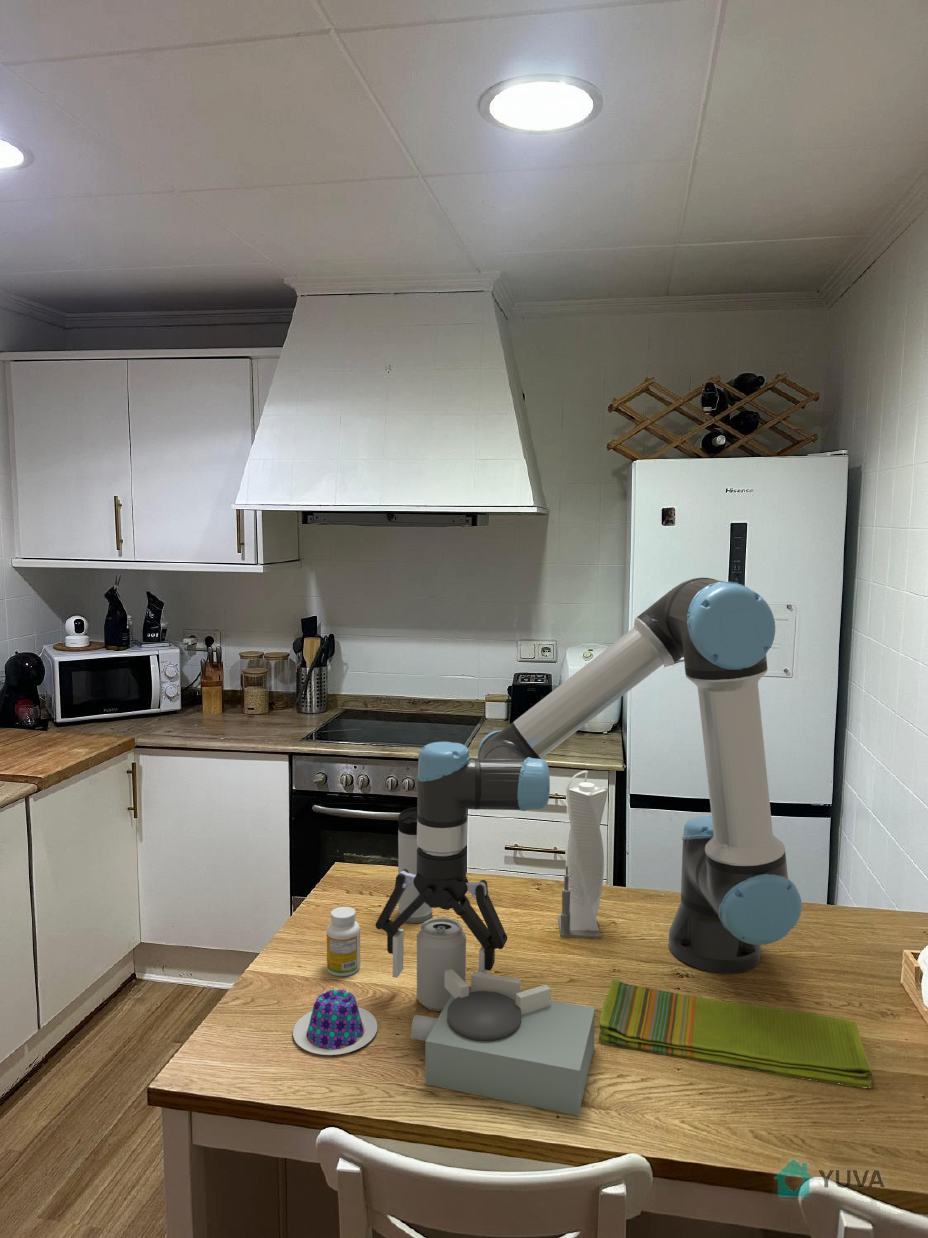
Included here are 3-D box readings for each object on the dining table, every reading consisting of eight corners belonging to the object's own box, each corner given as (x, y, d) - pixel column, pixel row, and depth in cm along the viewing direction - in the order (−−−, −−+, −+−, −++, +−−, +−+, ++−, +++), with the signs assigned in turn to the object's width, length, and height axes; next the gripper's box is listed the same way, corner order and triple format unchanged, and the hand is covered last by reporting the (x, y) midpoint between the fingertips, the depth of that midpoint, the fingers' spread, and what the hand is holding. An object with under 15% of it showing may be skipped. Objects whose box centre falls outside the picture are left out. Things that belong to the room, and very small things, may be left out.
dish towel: (608, 989, 134) (608, 970, 133) (853, 1028, 124) (855, 1007, 124) (596, 1047, 119) (597, 1025, 118) (874, 1096, 109) (875, 1073, 109)
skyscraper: (557, 914, 157) (560, 768, 154) (601, 916, 157) (605, 769, 154) (560, 937, 149) (564, 783, 146) (606, 938, 149) (611, 784, 145)
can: (467, 988, 132) (468, 915, 131) (462, 1016, 125) (463, 939, 124) (420, 985, 133) (420, 913, 132) (412, 1012, 126) (412, 936, 124)
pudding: (389, 1016, 125) (389, 983, 125) (358, 1067, 114) (358, 1030, 113) (315, 1004, 128) (314, 971, 128) (277, 1051, 117) (277, 1016, 116)
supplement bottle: (336, 957, 141) (336, 902, 140) (365, 963, 140) (365, 907, 138) (321, 973, 136) (320, 916, 135) (351, 980, 135) (350, 922, 133)
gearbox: (593, 1048, 118) (595, 991, 117) (578, 1116, 104) (580, 1051, 103) (430, 1018, 124) (430, 964, 123) (396, 1078, 111) (396, 1017, 110)
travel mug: (439, 912, 158) (440, 809, 155) (419, 927, 152) (419, 819, 150) (412, 904, 161) (412, 803, 159) (391, 918, 155) (391, 813, 153)
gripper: (528, 848, 126) (525, 981, 129) (373, 828, 133) (373, 955, 136) (517, 867, 119) (514, 1008, 122) (354, 845, 126) (354, 979, 129)
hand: (439, 980), depth 129 cm, fingers open, 13 cm apart
